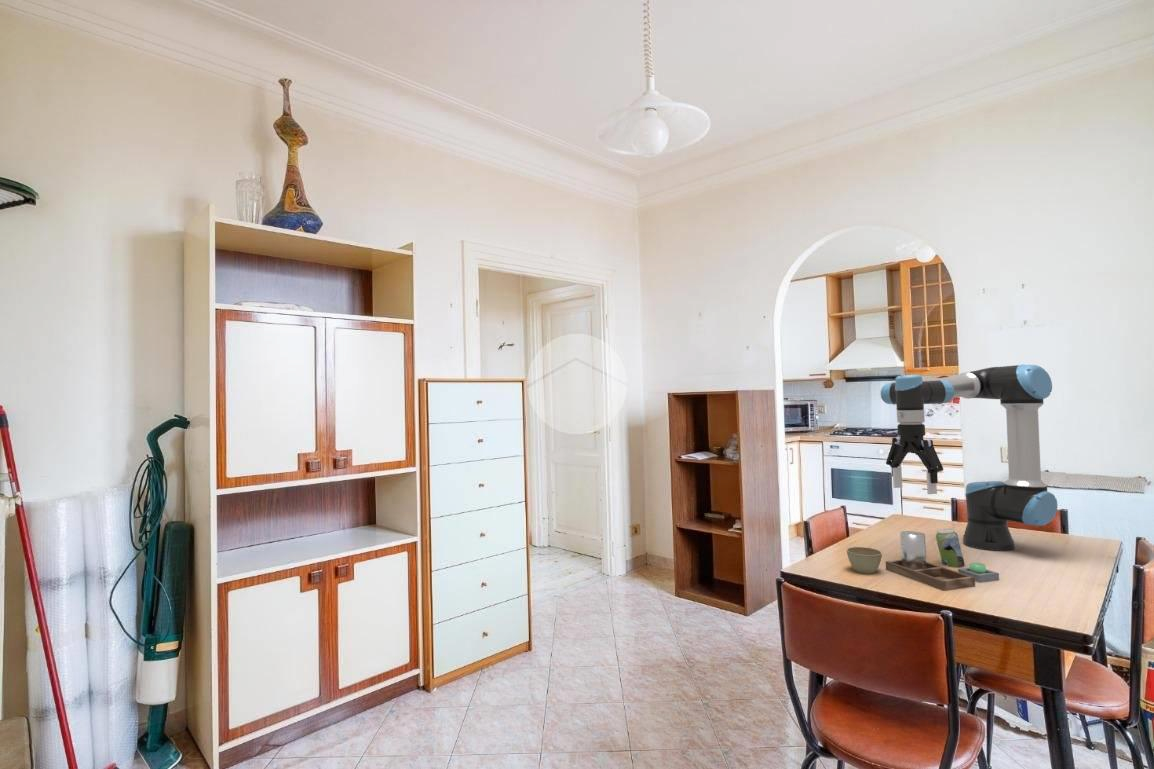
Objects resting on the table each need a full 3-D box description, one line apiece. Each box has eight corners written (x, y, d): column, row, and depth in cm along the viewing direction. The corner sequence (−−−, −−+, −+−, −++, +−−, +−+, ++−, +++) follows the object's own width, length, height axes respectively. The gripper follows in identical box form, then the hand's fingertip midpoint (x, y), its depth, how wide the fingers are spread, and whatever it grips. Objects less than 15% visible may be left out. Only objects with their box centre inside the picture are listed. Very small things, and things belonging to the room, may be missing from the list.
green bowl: (849, 577, 174) (848, 554, 174) (846, 567, 183) (844, 546, 183) (885, 579, 170) (884, 556, 171) (880, 570, 180) (879, 547, 180)
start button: (977, 572, 169) (976, 562, 169) (990, 576, 165) (989, 565, 165) (966, 573, 168) (966, 563, 168) (979, 577, 164) (978, 567, 164)
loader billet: (914, 568, 177) (912, 530, 177) (932, 574, 170) (930, 535, 171) (897, 570, 175) (895, 532, 176) (914, 576, 169) (912, 536, 169)
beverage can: (968, 570, 176) (966, 532, 176) (942, 570, 177) (940, 532, 178) (959, 564, 182) (957, 527, 182) (934, 564, 183) (932, 527, 184)
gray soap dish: (977, 576, 170) (976, 566, 170) (999, 583, 163) (998, 573, 164) (958, 578, 169) (957, 568, 169) (980, 586, 162) (979, 575, 162)
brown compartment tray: (914, 569, 179) (914, 558, 180) (975, 589, 159) (974, 577, 159) (886, 572, 177) (885, 561, 177) (943, 594, 156) (943, 581, 157)
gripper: (872, 422, 189) (875, 485, 188) (933, 425, 165) (937, 497, 164) (891, 422, 191) (894, 484, 190) (954, 424, 166) (958, 495, 166)
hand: (914, 490), depth 177 cm, fingers open, 13 cm apart
